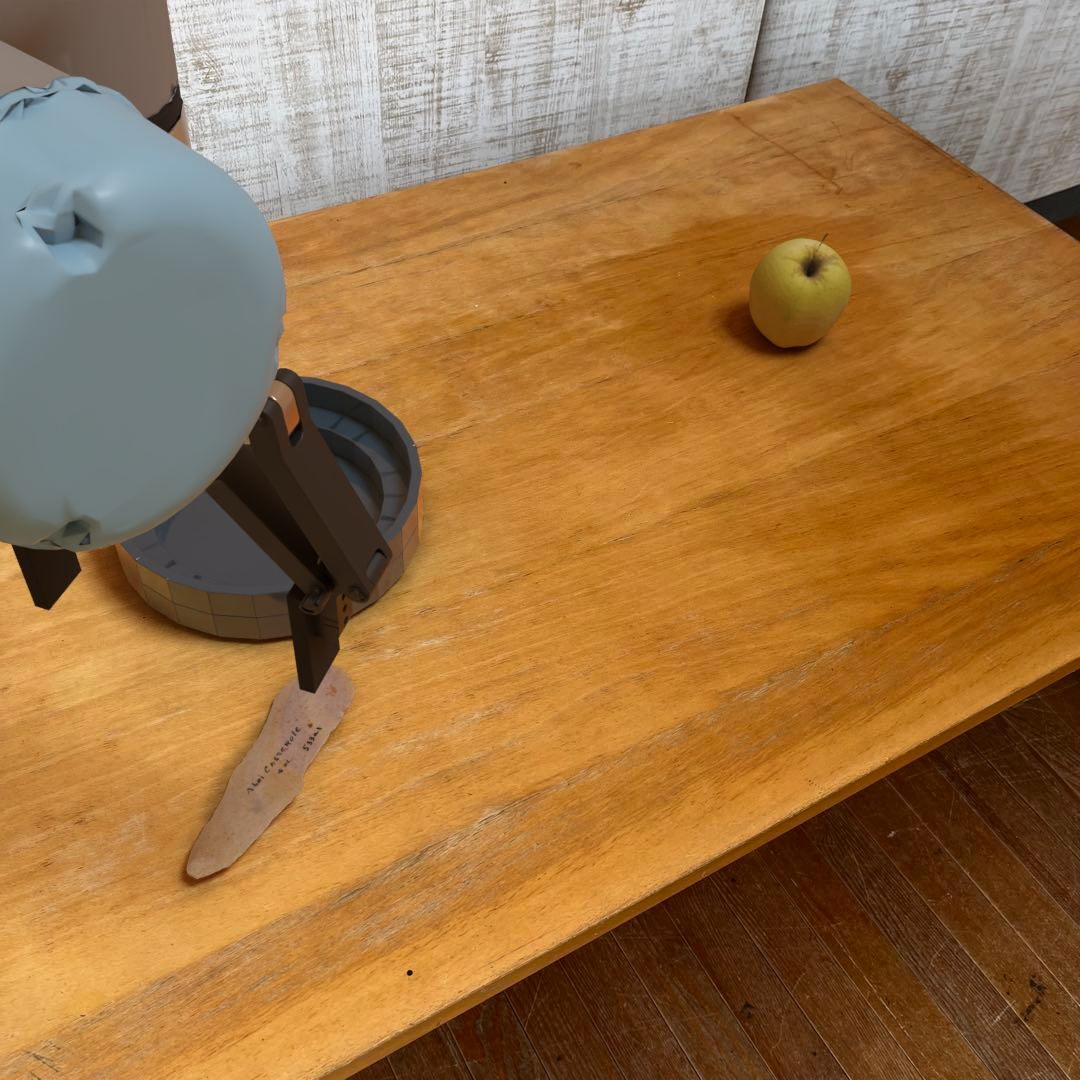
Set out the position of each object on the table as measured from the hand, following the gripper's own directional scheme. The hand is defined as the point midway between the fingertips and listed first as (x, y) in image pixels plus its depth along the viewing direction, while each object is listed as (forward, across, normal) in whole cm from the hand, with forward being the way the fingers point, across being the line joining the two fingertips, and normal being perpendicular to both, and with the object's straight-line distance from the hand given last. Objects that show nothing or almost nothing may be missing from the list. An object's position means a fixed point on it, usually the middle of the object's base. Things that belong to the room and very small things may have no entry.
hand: (186, 628), depth 55 cm
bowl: (+16, -7, +20) cm, 26 cm away
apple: (+15, +23, +55) cm, 61 cm away
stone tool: (+16, +2, +2) cm, 16 cm away
